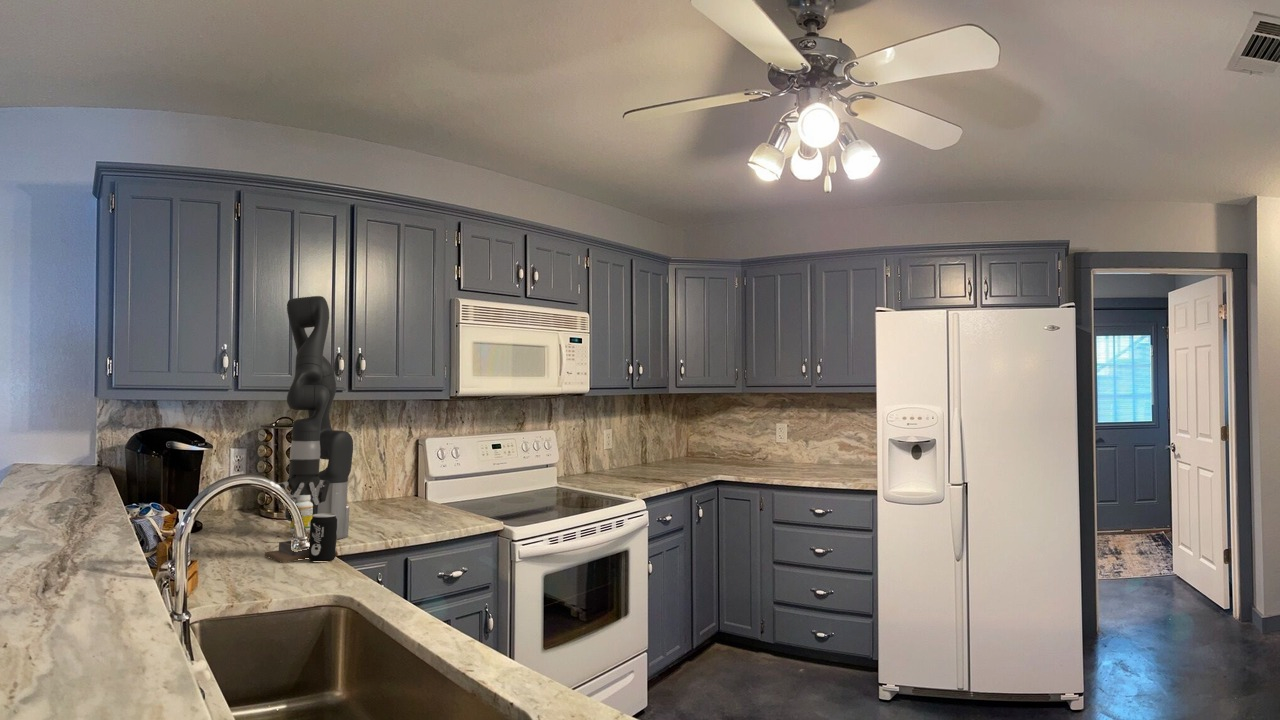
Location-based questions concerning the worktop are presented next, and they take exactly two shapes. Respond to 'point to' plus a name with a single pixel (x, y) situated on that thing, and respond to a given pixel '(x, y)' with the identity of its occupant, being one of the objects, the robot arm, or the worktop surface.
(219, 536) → the worktop surface
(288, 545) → the bottle holder
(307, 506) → the supplement bottle
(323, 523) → the beverage can
